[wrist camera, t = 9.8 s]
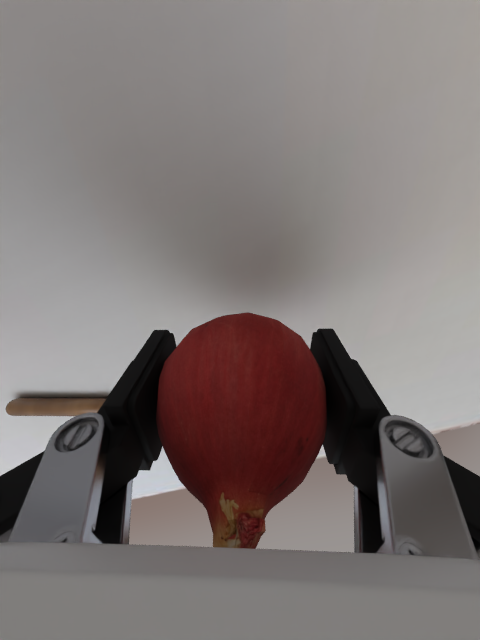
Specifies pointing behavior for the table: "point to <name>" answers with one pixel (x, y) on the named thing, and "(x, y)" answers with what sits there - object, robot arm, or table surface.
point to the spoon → (53, 406)
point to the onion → (241, 419)
